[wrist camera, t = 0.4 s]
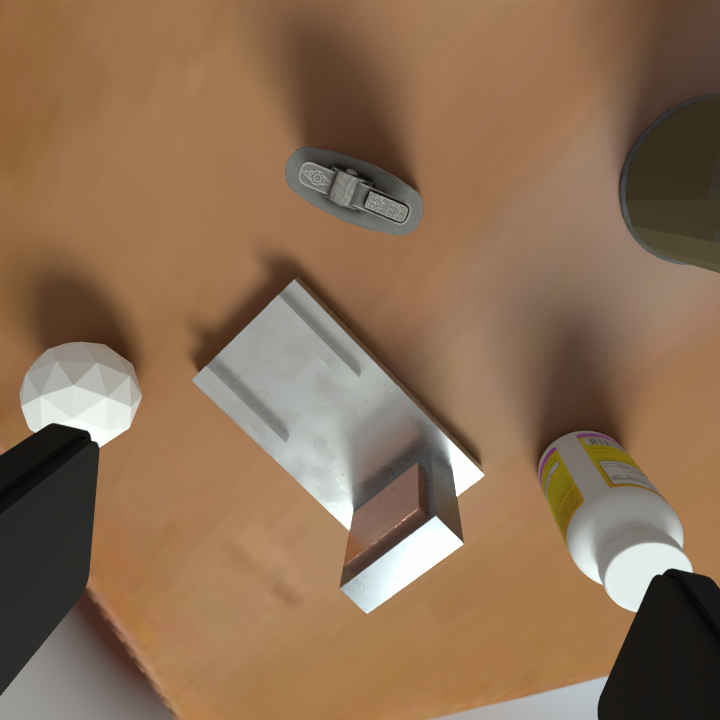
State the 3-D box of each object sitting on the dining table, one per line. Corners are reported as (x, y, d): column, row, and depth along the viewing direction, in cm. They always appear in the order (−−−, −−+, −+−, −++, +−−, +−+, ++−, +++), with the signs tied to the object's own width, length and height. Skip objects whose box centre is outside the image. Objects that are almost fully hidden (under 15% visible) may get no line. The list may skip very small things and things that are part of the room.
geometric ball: (126, 342, 47) (117, 314, 39) (154, 436, 46) (150, 425, 38) (22, 368, 44) (-8, 343, 37) (50, 468, 43) (25, 463, 36)
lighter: (300, 190, 39) (265, 193, 30) (318, 141, 38) (287, 128, 29) (409, 236, 40) (408, 253, 30) (429, 188, 39) (435, 191, 29)
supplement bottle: (557, 518, 45) (612, 644, 33) (521, 449, 44) (564, 554, 31) (640, 484, 44) (730, 603, 31) (606, 412, 42) (686, 507, 30)
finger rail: (198, 373, 44) (136, 430, 34) (298, 275, 41) (262, 306, 31) (377, 545, 47) (368, 643, 37) (481, 465, 44) (502, 548, 34)
